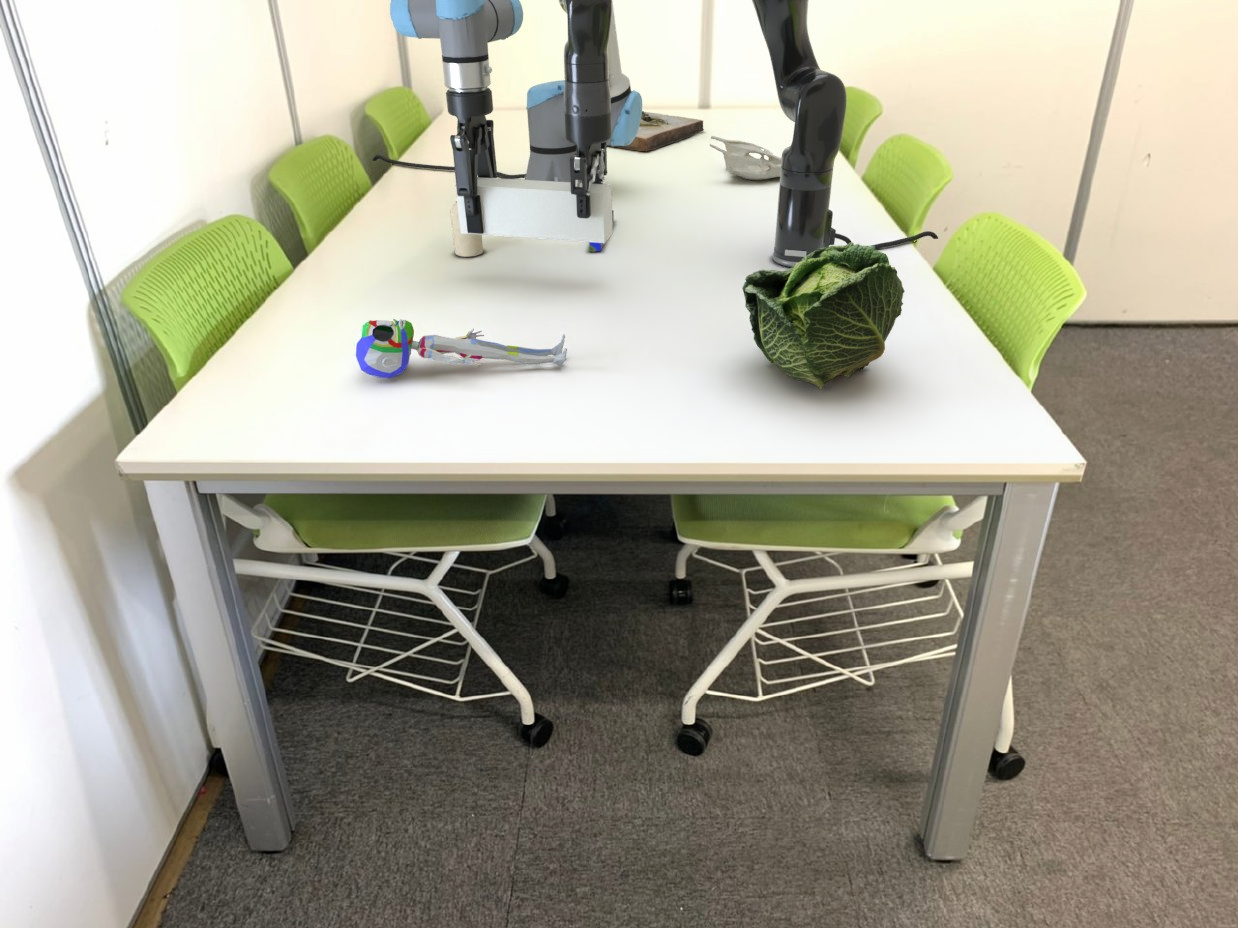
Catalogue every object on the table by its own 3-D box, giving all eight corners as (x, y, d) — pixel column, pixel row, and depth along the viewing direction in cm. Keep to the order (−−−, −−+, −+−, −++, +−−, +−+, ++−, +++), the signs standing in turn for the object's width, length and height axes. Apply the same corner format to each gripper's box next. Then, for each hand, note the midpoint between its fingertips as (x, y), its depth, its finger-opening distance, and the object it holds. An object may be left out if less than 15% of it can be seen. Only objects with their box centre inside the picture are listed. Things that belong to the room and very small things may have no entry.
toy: (569, 347, 126) (349, 329, 122) (563, 400, 131) (350, 385, 126) (565, 318, 135) (359, 301, 130) (559, 369, 139) (360, 354, 134)
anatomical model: (711, 132, 222) (813, 131, 218) (711, 170, 227) (811, 169, 223) (707, 147, 210) (815, 146, 206) (707, 186, 215) (813, 186, 211)
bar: (460, 233, 158) (455, 184, 154) (472, 224, 163) (467, 176, 158) (604, 243, 153) (603, 193, 148) (612, 233, 157) (611, 184, 153)
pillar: (613, 210, 190) (600, 241, 173) (613, 220, 191) (600, 251, 174) (603, 210, 190) (589, 240, 173) (603, 220, 191) (589, 251, 174)
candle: (488, 249, 176) (483, 198, 171) (475, 258, 172) (470, 206, 167) (463, 246, 178) (457, 196, 173) (450, 255, 174) (443, 204, 168)
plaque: (647, 125, 237) (559, 112, 252) (647, 153, 241) (560, 139, 256) (706, 107, 258) (622, 97, 273) (705, 133, 262) (622, 121, 277)
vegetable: (774, 398, 137) (714, 287, 129) (876, 327, 138) (822, 213, 130) (838, 431, 119) (772, 304, 111) (955, 349, 120) (897, 218, 112)
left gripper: (468, 99, 139) (482, 245, 151) (509, 79, 154) (519, 213, 167) (423, 98, 141) (441, 242, 153) (468, 78, 156) (481, 211, 168)
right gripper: (598, 119, 138) (600, 225, 147) (620, 102, 150) (621, 200, 158) (551, 117, 139) (556, 222, 148) (577, 100, 151) (581, 198, 160)
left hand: (482, 227), depth 160 cm, fingers closed on bar, 5 cm apart
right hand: (590, 210), depth 153 cm, fingers open, 7 cm apart
